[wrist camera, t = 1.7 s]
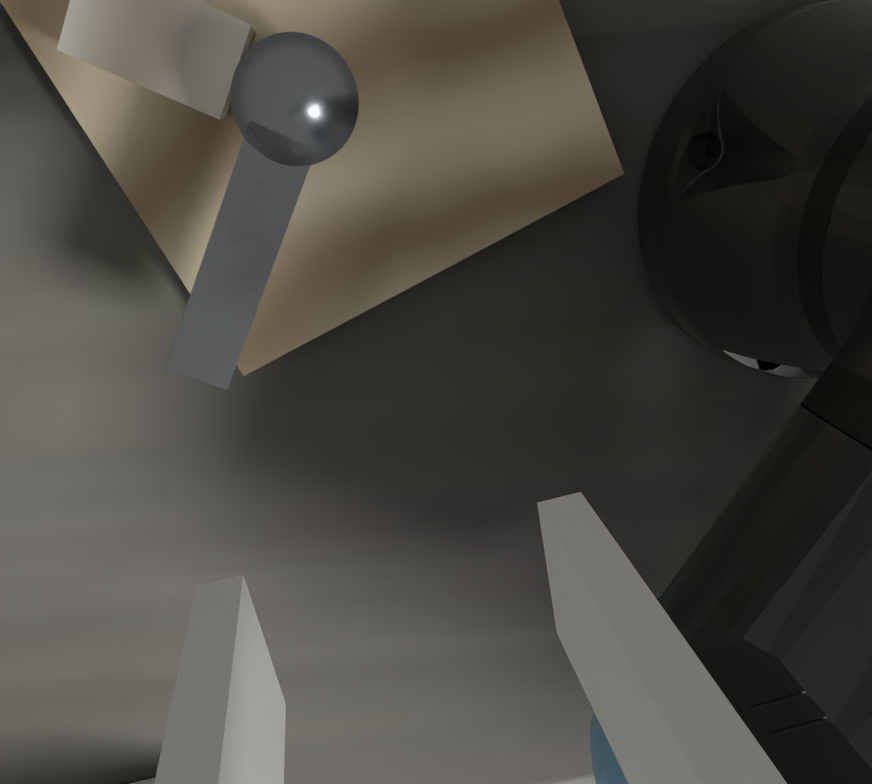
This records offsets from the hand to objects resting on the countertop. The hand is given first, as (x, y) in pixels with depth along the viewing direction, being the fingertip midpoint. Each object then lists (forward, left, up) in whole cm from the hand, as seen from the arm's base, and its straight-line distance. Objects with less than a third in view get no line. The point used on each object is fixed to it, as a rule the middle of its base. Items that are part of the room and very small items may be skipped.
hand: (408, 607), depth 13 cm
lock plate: (+7, -4, -21) cm, 22 cm away
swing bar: (+5, +1, -16) cm, 17 cm away
